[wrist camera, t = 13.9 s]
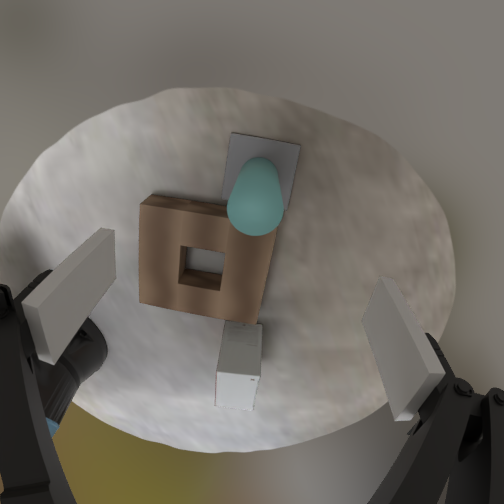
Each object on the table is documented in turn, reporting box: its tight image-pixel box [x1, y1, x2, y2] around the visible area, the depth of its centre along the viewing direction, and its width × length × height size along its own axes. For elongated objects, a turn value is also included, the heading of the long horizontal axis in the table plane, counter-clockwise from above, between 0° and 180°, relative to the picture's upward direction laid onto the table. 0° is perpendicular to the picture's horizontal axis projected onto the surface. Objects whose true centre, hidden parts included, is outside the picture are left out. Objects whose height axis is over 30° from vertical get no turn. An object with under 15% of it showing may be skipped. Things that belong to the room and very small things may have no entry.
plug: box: [227, 157, 284, 236], centre depth 31 cm, size 4×4×13 cm
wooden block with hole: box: [139, 194, 278, 325], centre depth 40 cm, size 16×14×4 cm
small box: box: [215, 321, 262, 411], centre depth 44 cm, size 8×6×10 cm
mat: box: [221, 133, 301, 211], centre depth 37 cm, size 8×8×1 cm
